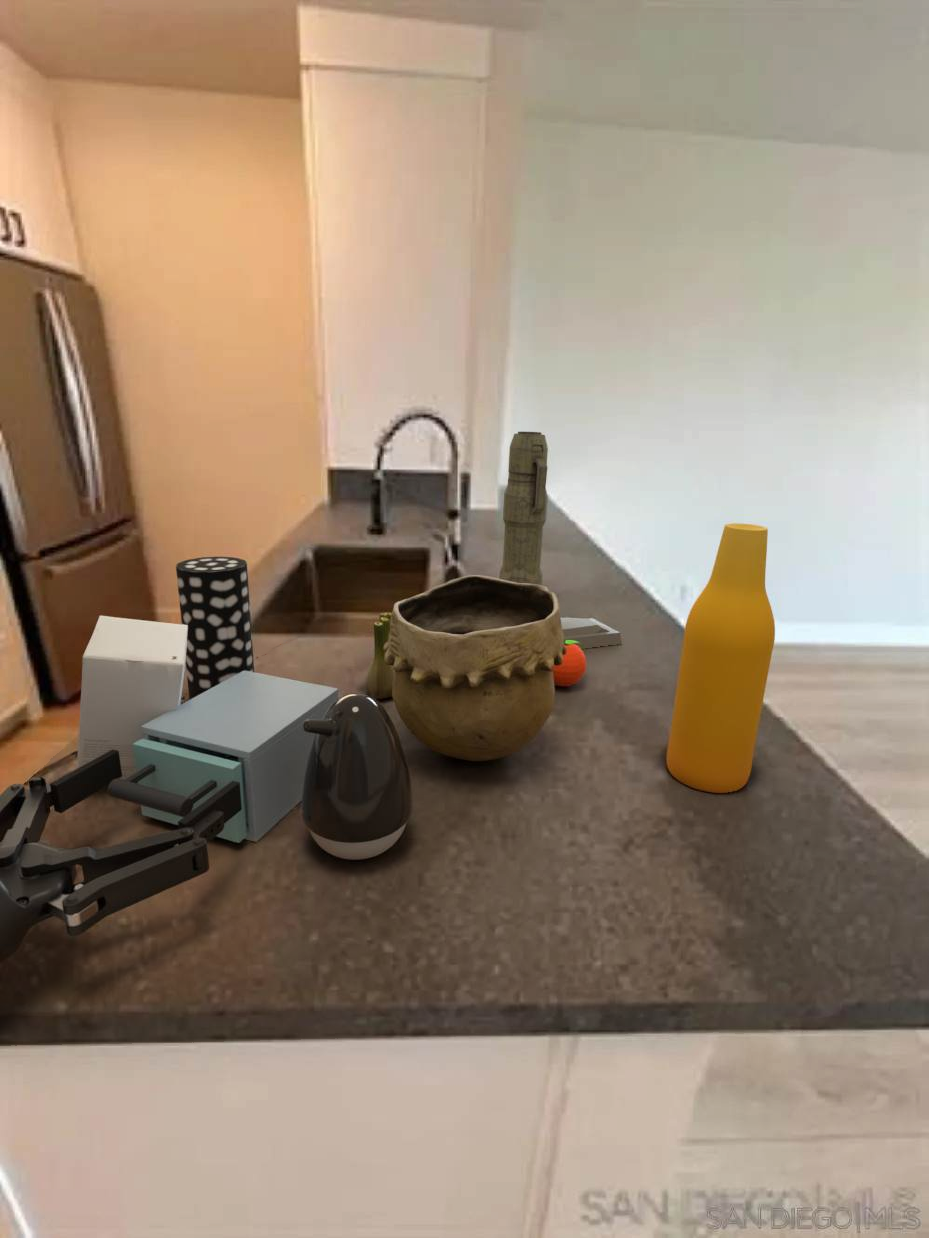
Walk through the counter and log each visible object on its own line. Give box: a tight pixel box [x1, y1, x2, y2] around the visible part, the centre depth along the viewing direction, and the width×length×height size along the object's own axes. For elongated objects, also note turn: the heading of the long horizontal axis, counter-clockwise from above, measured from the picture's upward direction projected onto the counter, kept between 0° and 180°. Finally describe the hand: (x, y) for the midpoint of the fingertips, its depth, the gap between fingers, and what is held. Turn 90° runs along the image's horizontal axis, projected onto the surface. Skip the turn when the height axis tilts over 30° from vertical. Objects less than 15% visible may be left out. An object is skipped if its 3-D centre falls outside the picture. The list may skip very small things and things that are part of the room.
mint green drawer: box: [106, 738, 248, 844], centre depth 67 cm, size 19×11×8 cm, turn 160°
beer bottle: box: [666, 522, 776, 794], centre depth 74 cm, size 9×9×29 cm
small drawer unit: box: [141, 670, 340, 843], centre depth 71 cm, size 16×13×10 cm
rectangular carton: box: [76, 614, 188, 780], centre depth 71 cm, size 9×9×15 cm
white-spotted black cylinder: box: [175, 556, 255, 701], centre depth 87 cm, size 8×8×20 cm
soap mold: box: [560, 617, 623, 650], centre depth 120 cm, size 10×20×4 cm, turn 113°
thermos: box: [499, 431, 549, 586], centre depth 138 cm, size 9×12×35 cm
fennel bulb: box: [365, 612, 395, 700], centre depth 94 cm, size 6×5×12 cm
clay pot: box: [384, 574, 567, 762], centre depth 79 cm, size 21×21×20 cm
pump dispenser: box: [301, 692, 413, 861], centre depth 62 cm, size 10×10×15 cm
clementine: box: [553, 640, 587, 687], centre depth 101 cm, size 8×7×7 cm
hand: (175, 778), depth 61 cm, fingers open, 13 cm apart
